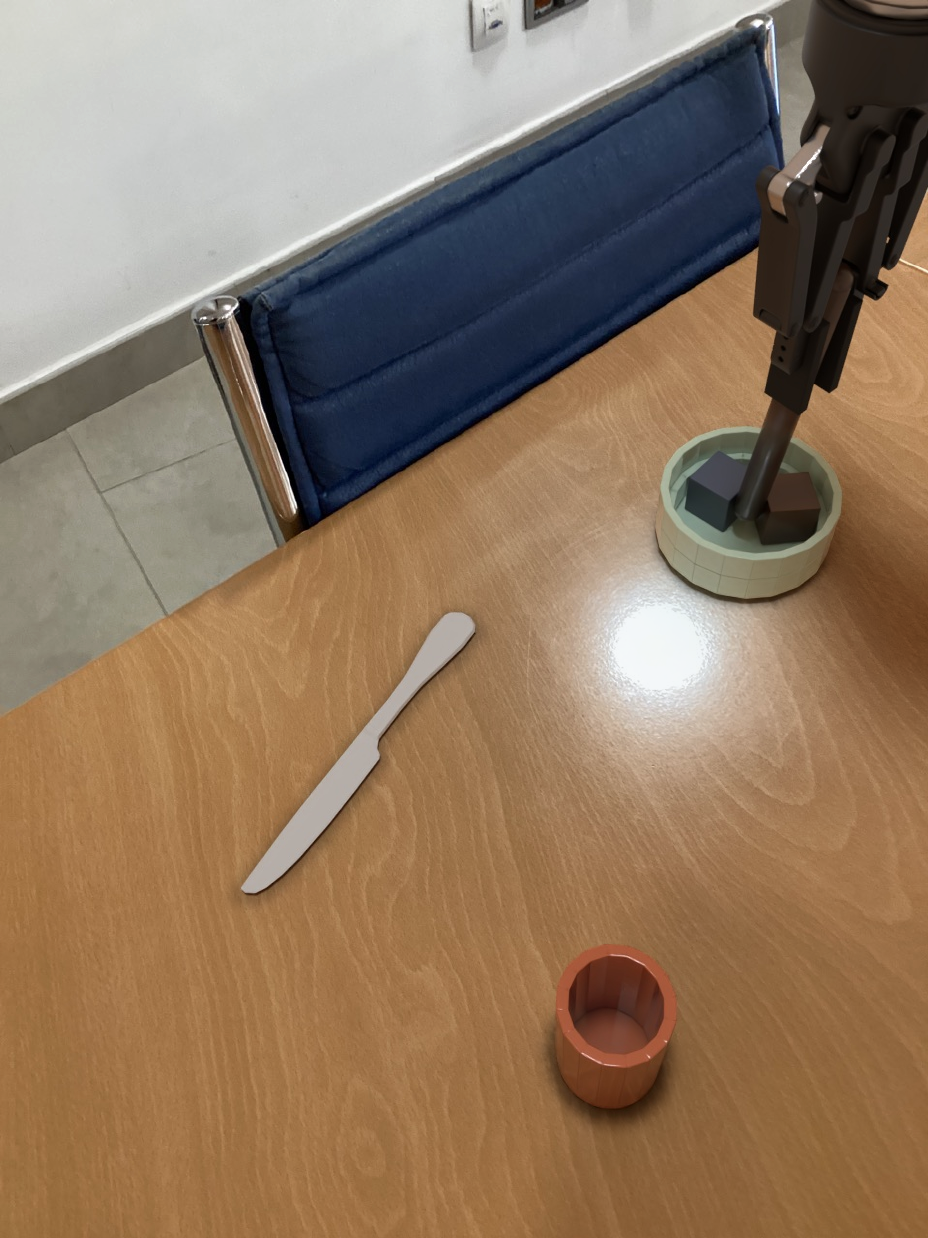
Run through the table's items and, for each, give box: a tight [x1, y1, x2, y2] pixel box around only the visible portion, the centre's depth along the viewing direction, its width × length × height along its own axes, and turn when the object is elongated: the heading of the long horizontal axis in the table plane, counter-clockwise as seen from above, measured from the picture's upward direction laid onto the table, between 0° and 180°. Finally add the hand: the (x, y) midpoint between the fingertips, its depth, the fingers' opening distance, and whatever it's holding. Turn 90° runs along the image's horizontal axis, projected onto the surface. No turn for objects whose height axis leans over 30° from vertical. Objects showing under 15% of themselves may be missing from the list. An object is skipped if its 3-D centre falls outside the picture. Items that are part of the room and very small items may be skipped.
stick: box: [734, 262, 854, 522], centre depth 66 cm, size 2×2×22 cm
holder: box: [555, 943, 678, 1110], centre depth 54 cm, size 6×6×10 cm
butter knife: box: [240, 611, 476, 894], centre depth 69 cm, size 1×24×3 cm
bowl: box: [654, 425, 843, 600], centre depth 75 cm, size 12×12×5 cm
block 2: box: [754, 472, 821, 544], centre depth 75 cm, size 4×4×4 cm
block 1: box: [685, 451, 747, 532], centre depth 77 cm, size 4×4×4 cm
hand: (800, 389), depth 64 cm, fingers closed on stick, 2 cm apart
